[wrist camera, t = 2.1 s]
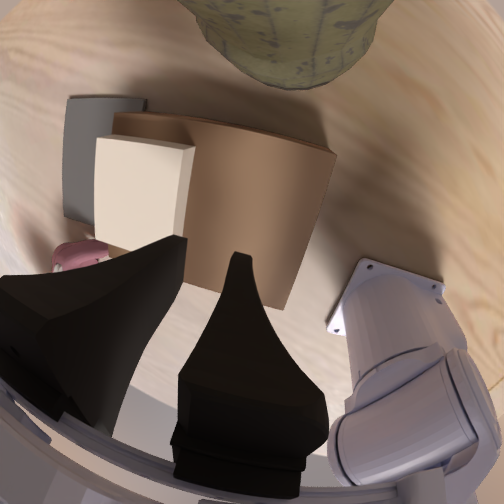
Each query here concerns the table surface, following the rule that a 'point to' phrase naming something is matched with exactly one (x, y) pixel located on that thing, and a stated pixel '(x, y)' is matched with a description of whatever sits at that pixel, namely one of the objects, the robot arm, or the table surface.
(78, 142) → the mat
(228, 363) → the robot arm
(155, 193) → the white block
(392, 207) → the table surface
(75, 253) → the video game controller
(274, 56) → the thermos
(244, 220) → the wooden tray block
